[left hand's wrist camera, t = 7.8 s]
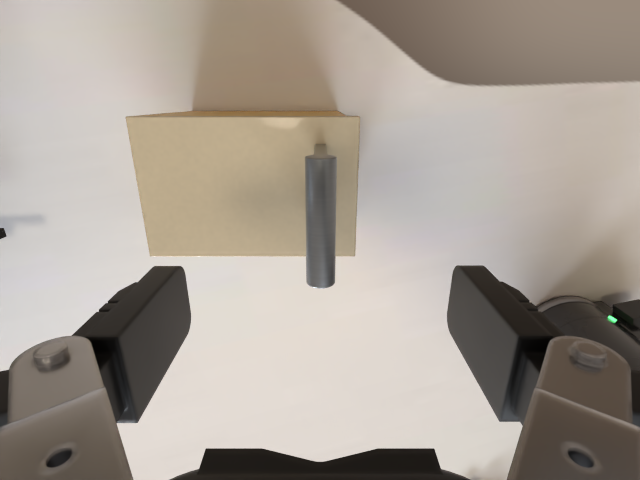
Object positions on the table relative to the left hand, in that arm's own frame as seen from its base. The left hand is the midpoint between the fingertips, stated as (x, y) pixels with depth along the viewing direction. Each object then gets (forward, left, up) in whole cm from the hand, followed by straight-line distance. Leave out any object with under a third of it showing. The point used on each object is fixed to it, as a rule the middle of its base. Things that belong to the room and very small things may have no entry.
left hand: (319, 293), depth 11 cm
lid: (+4, -1, -14) cm, 15 cm away
